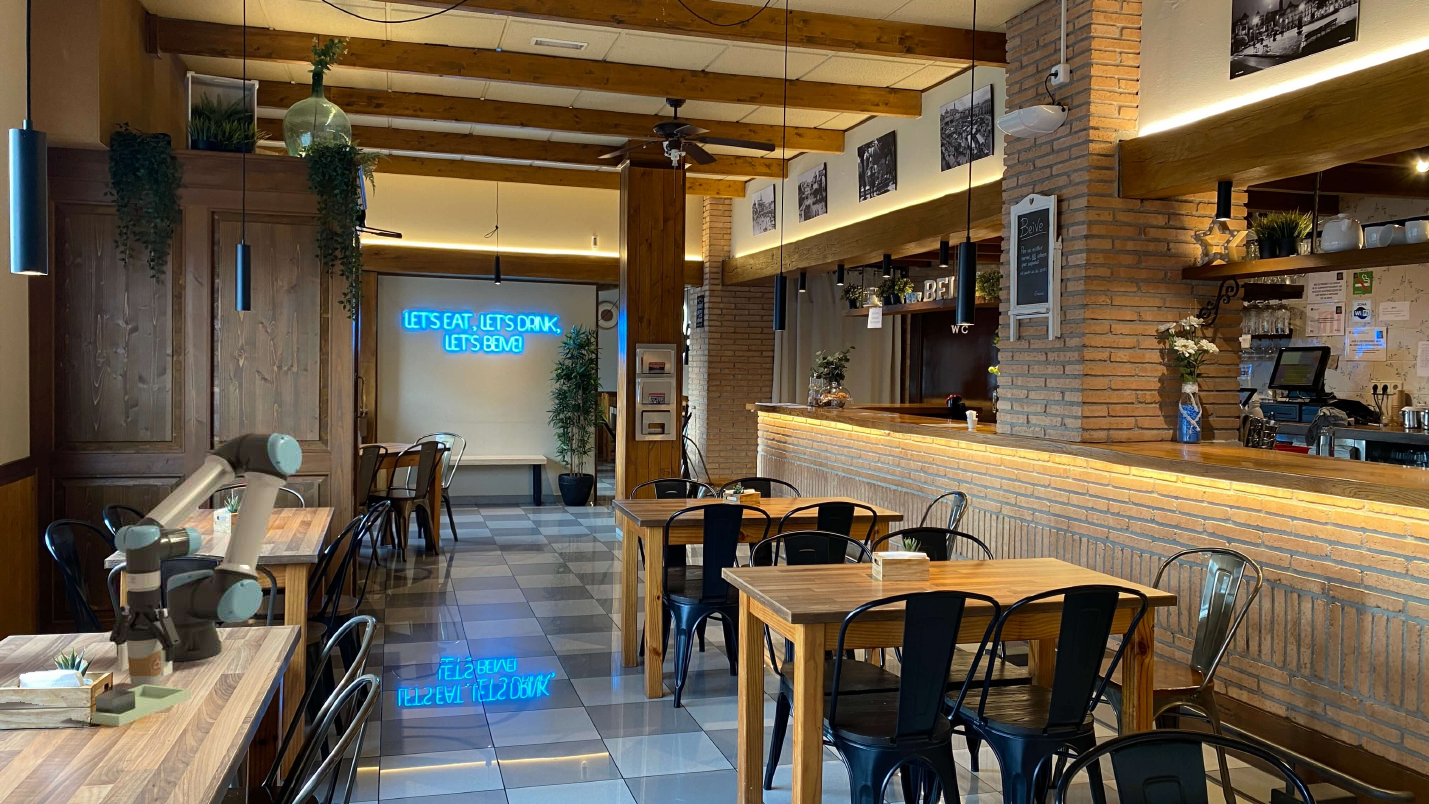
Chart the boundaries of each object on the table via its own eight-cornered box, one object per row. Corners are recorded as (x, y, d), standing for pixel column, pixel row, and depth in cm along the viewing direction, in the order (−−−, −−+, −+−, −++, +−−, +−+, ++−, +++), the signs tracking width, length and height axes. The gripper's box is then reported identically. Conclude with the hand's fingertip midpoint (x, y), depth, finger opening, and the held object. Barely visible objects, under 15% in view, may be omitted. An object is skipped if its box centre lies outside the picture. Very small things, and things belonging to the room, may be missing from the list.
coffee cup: (147, 693, 251) (146, 632, 250) (118, 690, 252) (117, 631, 252) (172, 682, 259) (170, 624, 258) (143, 680, 260) (142, 622, 260)
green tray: (144, 696, 248) (144, 684, 248) (190, 701, 244) (190, 689, 244) (70, 723, 229) (70, 710, 229) (119, 729, 225) (119, 716, 225)
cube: (115, 710, 235) (114, 689, 235) (135, 712, 233) (135, 691, 233) (92, 718, 230) (91, 697, 229) (113, 721, 228) (112, 699, 228)
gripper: (92, 588, 255) (93, 671, 255) (171, 594, 247) (172, 680, 248) (117, 582, 262) (119, 663, 263) (195, 588, 255) (196, 671, 255)
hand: (145, 672), depth 255 cm, fingers open, 13 cm apart
